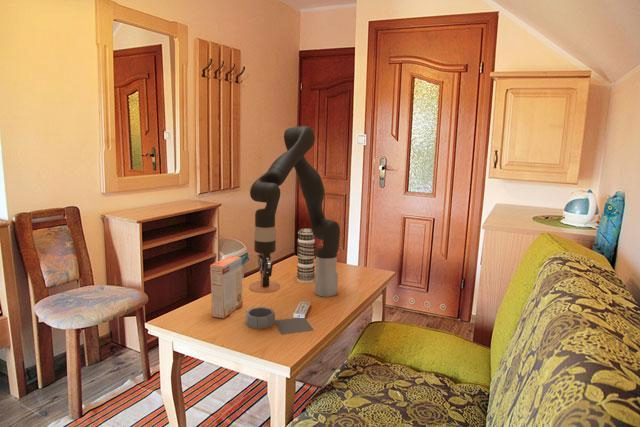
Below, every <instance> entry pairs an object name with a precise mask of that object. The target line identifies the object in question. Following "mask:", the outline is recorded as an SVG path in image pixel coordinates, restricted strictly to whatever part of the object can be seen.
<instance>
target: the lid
mask: <svg viewBox="0 0 640 427" xmlns="http://www.w3.org/2000/svg"><path fill="white" fill-rule="evenodd" d="M262 275H263V273H261V274H260V280H259V281H254V282H251V283H250V284H249V286H248V289H249V291H251V292H253V293H258V294H270V293H271V294H272V293H277V292H278V291H279V290H281V284H280V283H279V282H276V281H273V280H269V287H263V276H262Z"/></svg>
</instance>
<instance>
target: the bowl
mask: <svg viewBox="0 0 640 427" xmlns="http://www.w3.org/2000/svg"><path fill="white" fill-rule="evenodd" d="M275 315H276V314H275V311H274V309H273V308H270V307H266V306H257V307H256V306H255V307H251V308H250V309H248V310H246V311H245V323H246V325H247V327H248V328H251V329H252V328H253V329H255V330H256V329H257V330H259V329H260V330H261V329H267V328H271V326H273V325H274V324H275V320H276V319H275V317H276V316H275Z"/></svg>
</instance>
